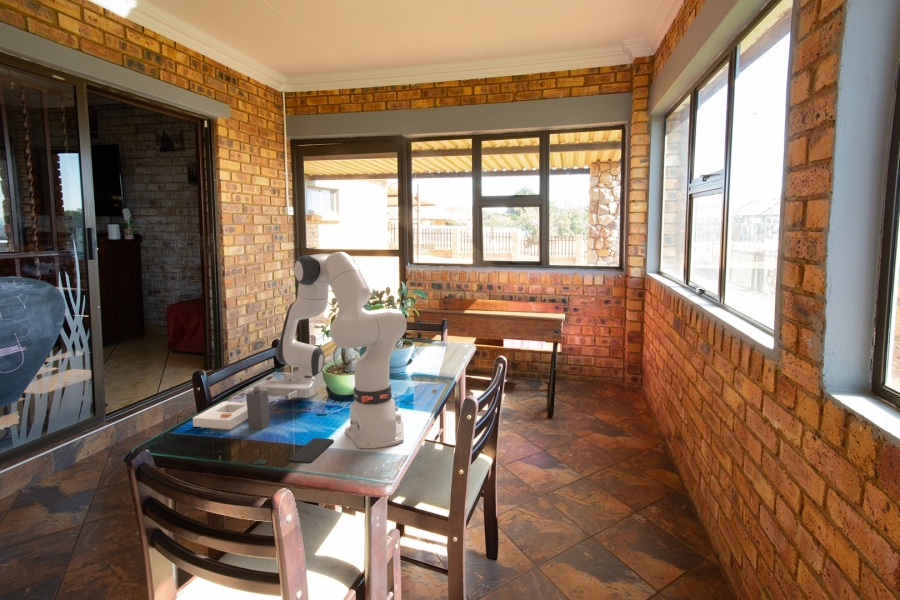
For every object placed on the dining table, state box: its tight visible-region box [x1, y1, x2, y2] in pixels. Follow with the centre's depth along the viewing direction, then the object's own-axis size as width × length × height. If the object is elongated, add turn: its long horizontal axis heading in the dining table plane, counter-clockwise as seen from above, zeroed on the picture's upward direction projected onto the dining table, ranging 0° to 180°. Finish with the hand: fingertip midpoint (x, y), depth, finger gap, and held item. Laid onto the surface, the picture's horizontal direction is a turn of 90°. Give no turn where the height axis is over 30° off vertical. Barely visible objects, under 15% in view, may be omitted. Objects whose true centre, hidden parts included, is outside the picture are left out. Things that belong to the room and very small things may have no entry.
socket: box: [192, 400, 248, 432], centre depth 173 cm, size 16×14×4 cm
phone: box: [289, 437, 335, 464], centre depth 148 cm, size 7×1×15 cm
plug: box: [245, 385, 271, 431], centre depth 166 cm, size 4×5×14 cm
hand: (274, 396), depth 175 cm, fingers open, 8 cm apart
